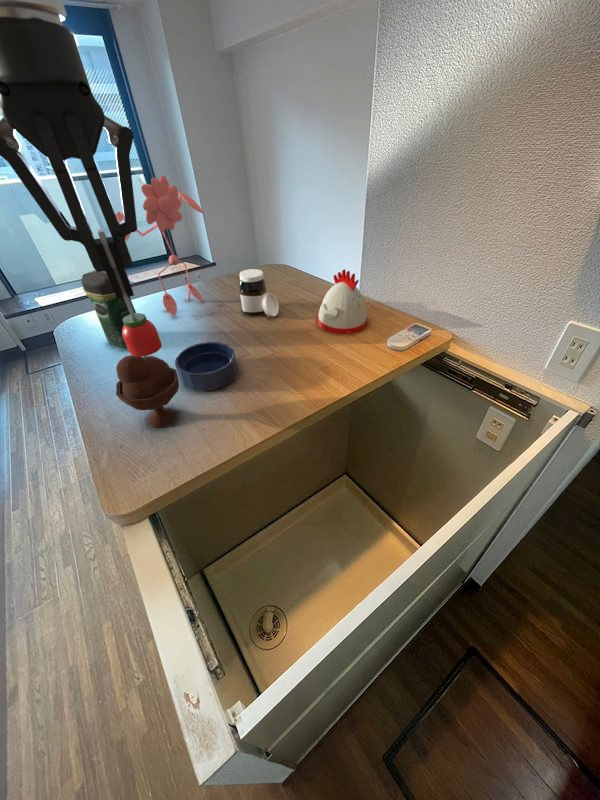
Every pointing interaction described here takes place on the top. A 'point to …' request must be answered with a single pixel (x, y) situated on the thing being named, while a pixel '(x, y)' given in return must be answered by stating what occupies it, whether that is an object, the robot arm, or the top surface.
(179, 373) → the dessert bowl
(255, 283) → the spread jar
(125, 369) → the ice cream bowl
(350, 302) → the kitchen timer
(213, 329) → the top surface
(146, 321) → the red candy apple
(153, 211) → the figurine
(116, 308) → the coffee jar
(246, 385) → the top surface
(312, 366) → the top surface
